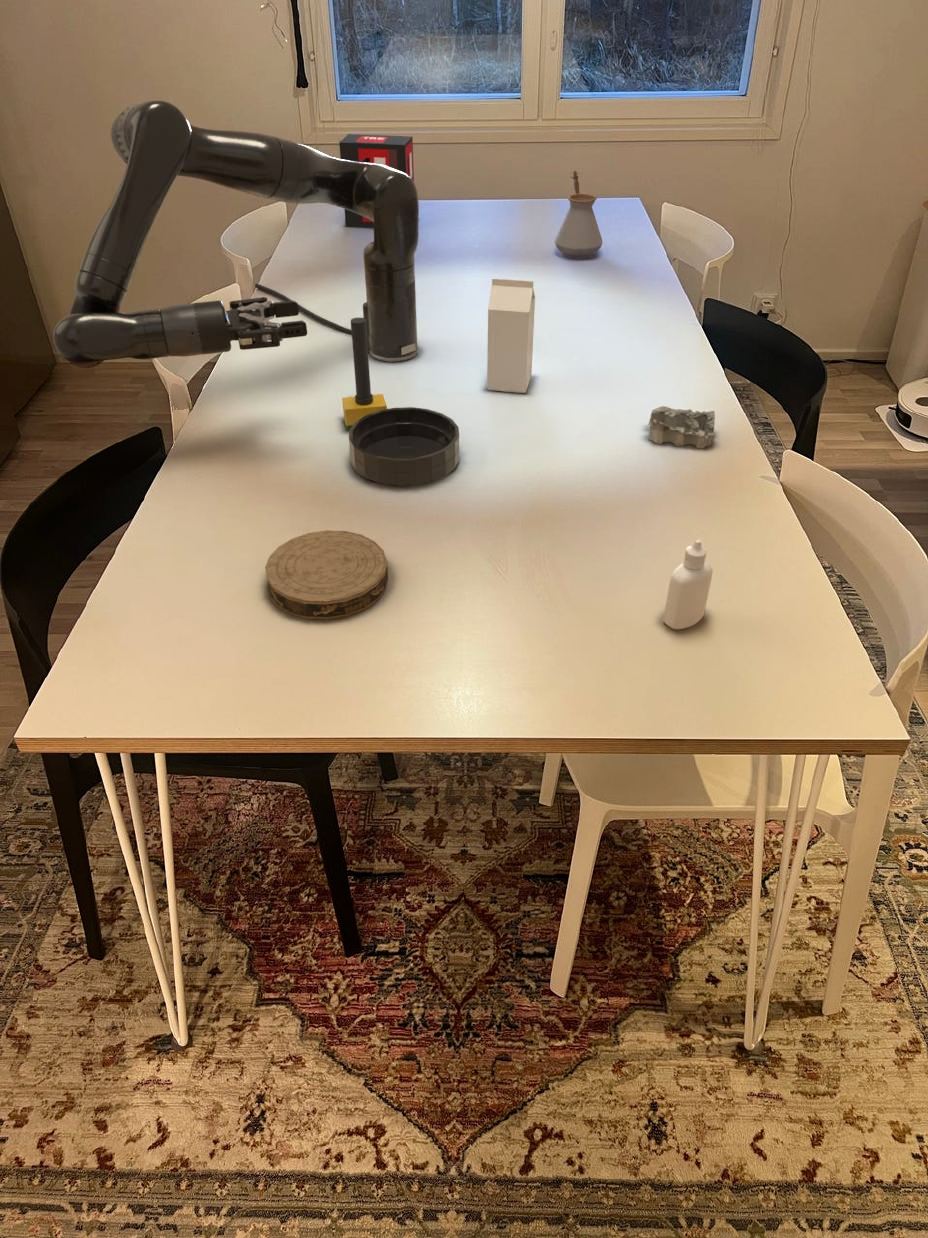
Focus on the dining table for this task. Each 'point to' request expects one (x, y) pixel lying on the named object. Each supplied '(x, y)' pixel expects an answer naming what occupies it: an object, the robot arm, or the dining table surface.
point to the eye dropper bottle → (688, 589)
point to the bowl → (404, 446)
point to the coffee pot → (579, 226)
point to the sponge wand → (361, 379)
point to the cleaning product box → (376, 160)
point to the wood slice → (327, 574)
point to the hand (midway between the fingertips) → (302, 317)
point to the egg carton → (681, 426)
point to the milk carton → (510, 335)
